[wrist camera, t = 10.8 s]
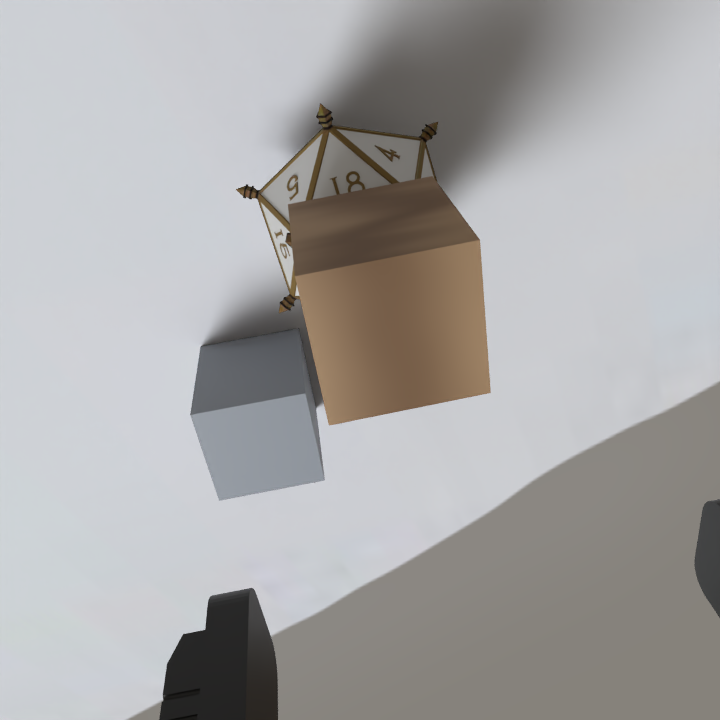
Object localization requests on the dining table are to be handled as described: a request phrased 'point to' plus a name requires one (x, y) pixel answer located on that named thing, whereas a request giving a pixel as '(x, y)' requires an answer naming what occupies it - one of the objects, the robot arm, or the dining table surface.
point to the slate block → (257, 415)
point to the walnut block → (390, 299)
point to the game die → (336, 177)
